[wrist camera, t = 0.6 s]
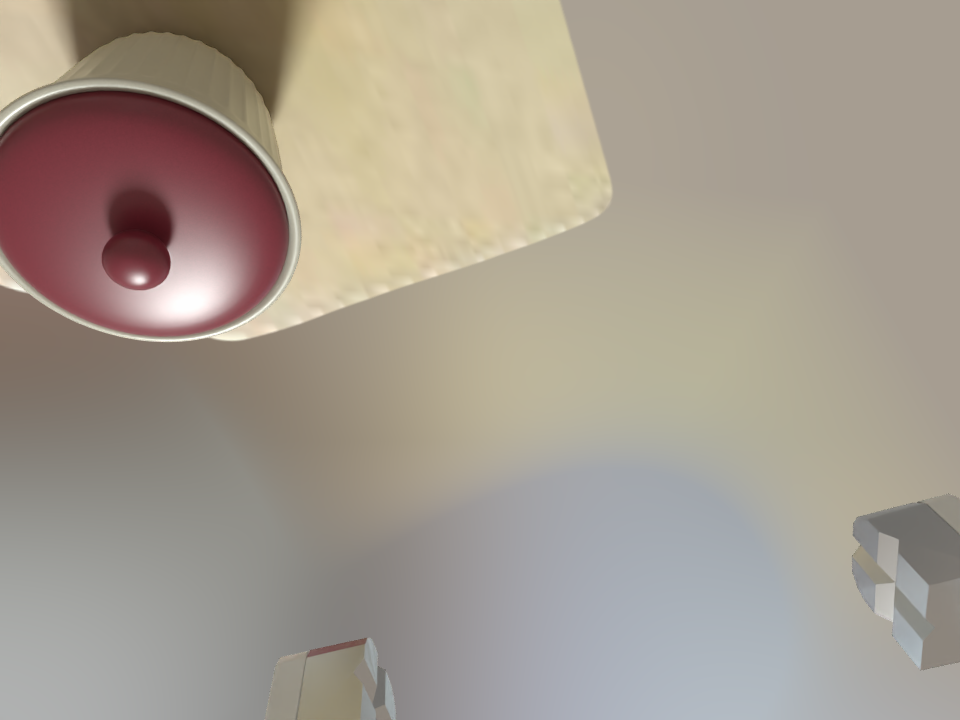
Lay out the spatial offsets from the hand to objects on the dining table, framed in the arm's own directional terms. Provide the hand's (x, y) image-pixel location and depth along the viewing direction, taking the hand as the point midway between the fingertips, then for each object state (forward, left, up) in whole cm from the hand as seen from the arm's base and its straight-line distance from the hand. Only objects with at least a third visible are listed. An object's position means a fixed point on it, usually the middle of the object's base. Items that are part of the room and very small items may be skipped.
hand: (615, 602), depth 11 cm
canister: (+17, -12, -50) cm, 54 cm away
